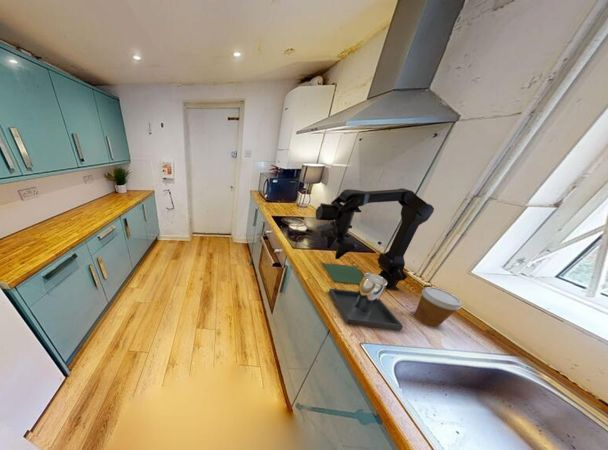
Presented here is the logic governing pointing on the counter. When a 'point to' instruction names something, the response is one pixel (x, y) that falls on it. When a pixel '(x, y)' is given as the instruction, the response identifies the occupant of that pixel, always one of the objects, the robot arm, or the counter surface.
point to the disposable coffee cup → (436, 306)
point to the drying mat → (344, 273)
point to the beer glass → (369, 293)
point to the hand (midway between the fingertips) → (332, 253)
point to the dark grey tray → (376, 319)
